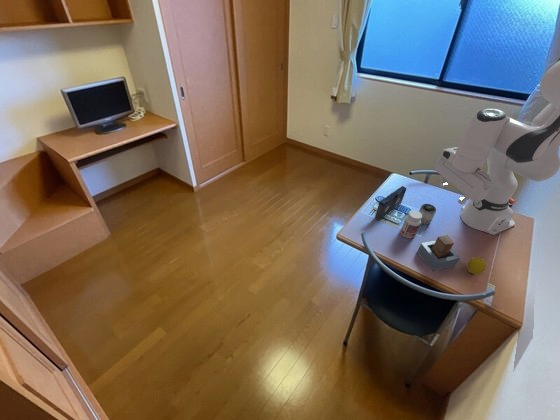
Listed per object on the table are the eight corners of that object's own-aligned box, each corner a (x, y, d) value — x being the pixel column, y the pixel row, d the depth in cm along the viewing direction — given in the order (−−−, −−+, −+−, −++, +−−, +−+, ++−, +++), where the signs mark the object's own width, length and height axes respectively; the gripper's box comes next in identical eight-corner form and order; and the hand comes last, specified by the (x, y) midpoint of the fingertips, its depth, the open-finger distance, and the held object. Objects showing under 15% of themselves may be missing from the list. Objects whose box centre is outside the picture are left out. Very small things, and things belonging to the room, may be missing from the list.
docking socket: (438, 247, 117) (443, 238, 114) (455, 266, 110) (460, 257, 106) (417, 251, 115) (421, 243, 112) (432, 271, 108) (437, 262, 105)
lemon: (462, 264, 110) (472, 251, 105) (478, 269, 109) (489, 255, 103) (463, 275, 106) (473, 262, 101) (480, 280, 105) (491, 267, 100)
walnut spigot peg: (437, 252, 114) (447, 235, 107) (444, 260, 111) (454, 242, 104) (428, 254, 113) (438, 236, 106) (435, 261, 110) (445, 244, 103)
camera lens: (433, 223, 128) (440, 210, 123) (421, 225, 127) (427, 212, 121) (425, 214, 132) (431, 201, 127) (413, 216, 131) (418, 203, 126)
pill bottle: (418, 235, 122) (427, 215, 115) (408, 240, 120) (417, 221, 112) (406, 226, 126) (414, 207, 119) (397, 232, 123) (404, 212, 116)
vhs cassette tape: (396, 201, 139) (402, 185, 133) (401, 204, 138) (408, 188, 131) (373, 217, 131) (378, 200, 124) (378, 221, 129) (384, 204, 122)
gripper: (502, 177, 84) (481, 212, 93) (454, 145, 99) (440, 177, 108) (485, 180, 83) (465, 215, 92) (438, 147, 98) (425, 180, 107)
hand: (451, 194), depth 100 cm, fingers open, 8 cm apart
